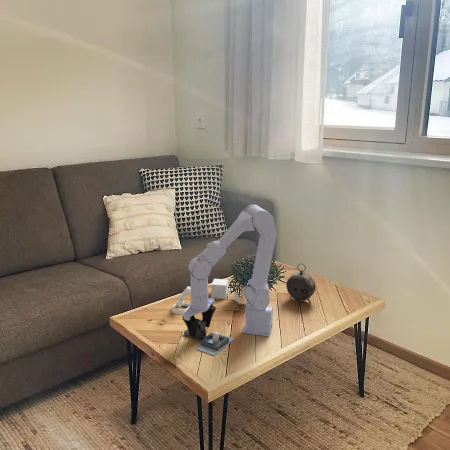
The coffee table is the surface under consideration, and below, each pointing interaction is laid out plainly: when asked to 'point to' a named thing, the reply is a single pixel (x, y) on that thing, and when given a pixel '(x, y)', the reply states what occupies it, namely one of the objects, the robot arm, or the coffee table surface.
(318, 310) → the coffee table surface
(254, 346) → the coffee table surface
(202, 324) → the grey block with tab
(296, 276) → the alarm clock
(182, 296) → the hook
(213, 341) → the keeper
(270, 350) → the coffee table surface
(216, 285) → the white cube
